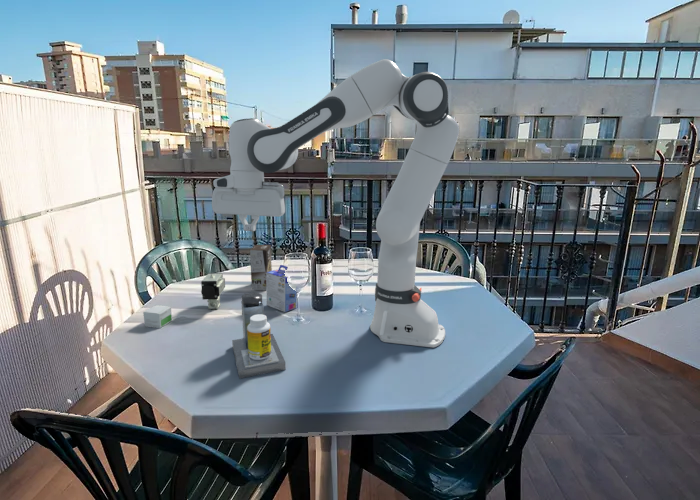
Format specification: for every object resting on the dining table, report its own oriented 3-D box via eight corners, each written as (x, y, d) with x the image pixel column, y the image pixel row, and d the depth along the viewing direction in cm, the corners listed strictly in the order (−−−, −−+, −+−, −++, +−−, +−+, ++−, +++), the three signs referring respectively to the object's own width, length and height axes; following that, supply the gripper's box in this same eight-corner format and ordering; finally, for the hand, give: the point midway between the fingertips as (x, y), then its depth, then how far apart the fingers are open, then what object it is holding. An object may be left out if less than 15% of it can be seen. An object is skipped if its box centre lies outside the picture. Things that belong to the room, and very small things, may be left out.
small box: (160, 328, 113) (159, 313, 112) (144, 326, 114) (142, 311, 113) (173, 320, 118) (171, 306, 117) (157, 318, 119) (155, 304, 118)
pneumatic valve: (202, 314, 123) (199, 279, 120) (211, 301, 134) (209, 268, 131) (219, 314, 123) (217, 279, 120) (227, 300, 135) (225, 268, 132)
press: (285, 369, 93) (284, 320, 90) (239, 378, 89) (236, 328, 86) (272, 340, 107) (271, 297, 104) (232, 346, 103) (229, 302, 100)
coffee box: (267, 290, 145) (266, 250, 141) (251, 290, 145) (249, 249, 141) (272, 282, 154) (271, 244, 150) (257, 282, 154) (255, 244, 150)
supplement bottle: (263, 363, 91) (261, 324, 88) (243, 358, 93) (241, 320, 90) (275, 352, 96) (274, 314, 93) (257, 347, 98) (255, 311, 95)
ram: (265, 341, 101) (263, 298, 98) (245, 344, 99) (242, 301, 96) (262, 333, 106) (260, 291, 102) (242, 336, 104) (240, 294, 101)
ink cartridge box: (297, 308, 130) (297, 267, 126) (285, 313, 125) (284, 271, 122) (278, 301, 135) (276, 262, 132) (266, 305, 131) (264, 265, 128)
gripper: (287, 181, 105) (288, 230, 108) (219, 179, 108) (221, 226, 111) (280, 183, 99) (281, 235, 102) (207, 180, 102) (211, 230, 105)
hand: (249, 230), depth 107 cm, fingers closed
